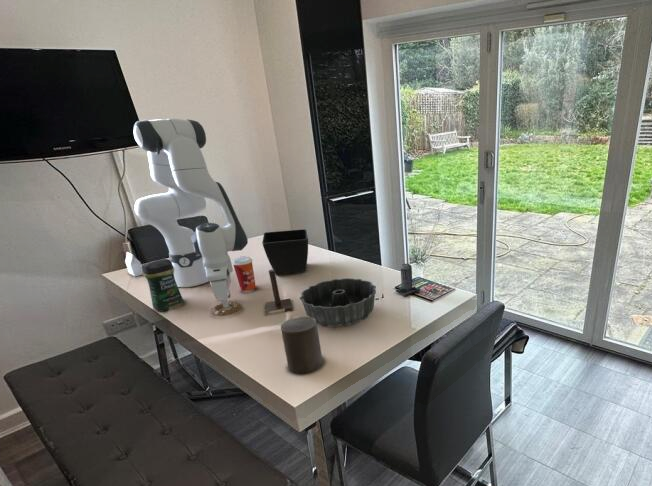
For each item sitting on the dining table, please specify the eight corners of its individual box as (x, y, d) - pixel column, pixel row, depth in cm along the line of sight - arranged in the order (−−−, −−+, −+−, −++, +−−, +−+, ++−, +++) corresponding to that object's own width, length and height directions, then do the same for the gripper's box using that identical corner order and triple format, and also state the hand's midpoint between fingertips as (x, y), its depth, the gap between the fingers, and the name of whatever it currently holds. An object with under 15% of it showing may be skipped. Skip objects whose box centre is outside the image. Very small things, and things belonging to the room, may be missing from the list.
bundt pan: (318, 300, 161) (314, 277, 157) (384, 300, 160) (382, 277, 156) (292, 334, 137) (287, 307, 133) (370, 334, 136) (367, 307, 132)
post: (266, 305, 157) (258, 268, 151) (290, 301, 161) (283, 264, 155) (266, 314, 150) (258, 276, 144) (292, 310, 153) (285, 272, 147)
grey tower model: (407, 287, 172) (405, 260, 167) (421, 291, 168) (420, 264, 163) (392, 294, 165) (390, 266, 160) (407, 299, 161) (405, 270, 156)
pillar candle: (299, 378, 114) (290, 331, 108) (282, 365, 120) (273, 320, 114) (329, 363, 120) (322, 318, 114) (311, 351, 126) (304, 308, 120)
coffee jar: (161, 313, 152) (146, 266, 144) (150, 308, 156) (135, 263, 148) (187, 303, 159) (174, 259, 152) (177, 299, 163) (163, 255, 156)
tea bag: (134, 276, 187) (127, 255, 183) (129, 273, 190) (122, 253, 186) (144, 274, 189) (137, 253, 185) (138, 271, 193) (131, 250, 189)
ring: (213, 309, 155) (212, 303, 154) (242, 304, 158) (241, 298, 157) (210, 320, 146) (209, 314, 145) (241, 315, 150) (239, 309, 149)
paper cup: (251, 294, 167) (243, 262, 161) (234, 293, 168) (226, 261, 162) (262, 287, 174) (256, 256, 168) (246, 285, 175) (239, 255, 169)
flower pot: (311, 260, 204) (306, 228, 197) (313, 273, 187) (308, 238, 181) (270, 265, 198) (263, 232, 191) (269, 279, 181) (262, 243, 175)
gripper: (211, 260, 157) (220, 293, 162) (205, 278, 139) (215, 314, 145) (229, 258, 159) (237, 290, 164) (226, 275, 142) (235, 311, 147)
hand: (227, 302), depth 155 cm, fingers open, 8 cm apart
